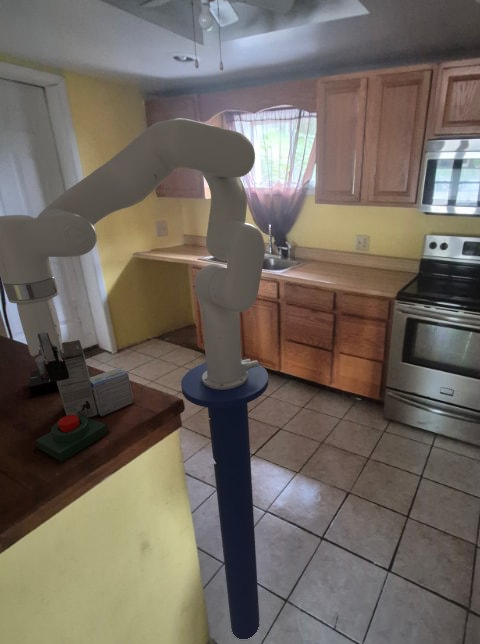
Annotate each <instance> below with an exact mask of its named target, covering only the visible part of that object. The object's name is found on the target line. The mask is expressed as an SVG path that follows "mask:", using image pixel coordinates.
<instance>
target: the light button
mask: <svg viewBox="0 0 480 644" xmlns="http://www.w3.org/2000/svg"><path fill="white" fill-rule="evenodd" d="M57 422H58V425H59V428H60V431H62V432H68V431H71V430H74V429H76V428H78V427H79V425H80V422H79V419H78V416H77V415H68V416H66V415H65V416H63V417H61V418H60V419H58V421H57Z"/></svg>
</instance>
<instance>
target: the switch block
mask: <svg viewBox="0 0 480 644" xmlns="http://www.w3.org/2000/svg"><path fill="white" fill-rule="evenodd" d="M78 419H79V422H80V425H79V427H78V428H76V429H74V430H71V431H68V432H62V431H60V428H59V425H58V421H57V422H56V423H55V424H53V426H51V429H50V430H51V431H50V432H48V433H46V434H44V435H43V436H41V437H39V438H37V439H35V443H36V445H37V448H38V450H40V451H42V452H44V453H45V454H47V455H49V456H50V457H53V458H54V459H56V460H58V461H60V462H62V463H64V461H66V460H68V459H69V458H71V457H73V456H75V454H77V453H79V452H81V451H82V450H84V449H85V448H87V447H89V446H90V445H91V444H93V443H95V442H96V441H98V440H100V439H101V438H102V437H104V436H106V435H107V434H108V429H107V426H106V424H105V423H102V422H100V421H98V420H95V419H93V418H91V417H86V416H84V415H81V416H78Z"/></svg>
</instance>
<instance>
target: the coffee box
mask: <svg viewBox="0 0 480 644" xmlns="http://www.w3.org/2000/svg"><path fill="white" fill-rule="evenodd" d="M61 352H62V356H63V357H64V358H65V362H66V365H67V368H68V372H69V378H68V379H64V380H60V381H56V382H57V385H58V388H59V391H58V392H59V396H60V399H61V402H62V406H63V409H64V413H65V416H68V415H77V416H81V415H84V416H86V417H88V418H91V417H92V418H93V417H95V416H97V415H99V413H98V410H97V406H96V402H95V398H94V394H93V390H92V386H91V380H90V378H91V376H90V373H89V368H88V365H87V360H86V356H85V353H84V350H83V346H82V343H81V340H80V339H76V340H72V341H71V340H70V341H62V349H61ZM63 357H62V358H63Z"/></svg>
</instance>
